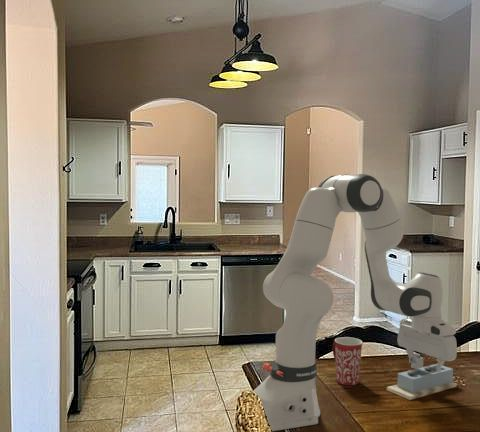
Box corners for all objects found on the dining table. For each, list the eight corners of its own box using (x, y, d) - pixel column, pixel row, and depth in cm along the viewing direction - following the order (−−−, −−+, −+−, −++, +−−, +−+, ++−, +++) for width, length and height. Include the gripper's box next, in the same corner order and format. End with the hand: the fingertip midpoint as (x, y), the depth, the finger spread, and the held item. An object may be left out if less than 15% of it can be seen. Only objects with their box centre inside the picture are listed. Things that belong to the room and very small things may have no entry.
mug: (367, 384, 163) (368, 343, 163) (343, 388, 160) (343, 345, 160) (346, 372, 175) (347, 333, 175) (323, 374, 172) (323, 335, 172)
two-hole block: (412, 393, 154) (413, 379, 154) (397, 386, 159) (397, 373, 159) (452, 381, 164) (453, 369, 164) (437, 376, 169) (437, 363, 169)
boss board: (409, 400, 151) (410, 379, 151) (386, 390, 159) (387, 370, 158) (456, 386, 162) (457, 367, 162) (433, 377, 170) (433, 359, 170)
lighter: (423, 370, 178) (423, 347, 178) (420, 370, 177) (420, 348, 177) (407, 364, 184) (408, 342, 184) (404, 364, 183) (404, 343, 183)
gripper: (393, 317, 168) (392, 359, 168) (447, 332, 150) (445, 378, 151) (406, 316, 171) (405, 356, 171) (460, 330, 154) (458, 375, 154)
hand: (424, 367), depth 161 cm, fingers open, 8 cm apart
